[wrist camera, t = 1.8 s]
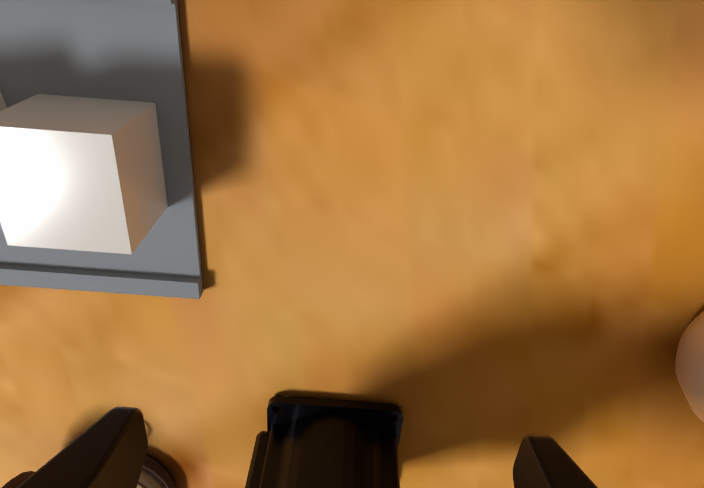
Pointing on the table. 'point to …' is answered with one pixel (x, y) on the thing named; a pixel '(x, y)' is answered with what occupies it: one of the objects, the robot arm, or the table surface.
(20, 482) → the compass
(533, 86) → the table surface
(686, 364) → the plastic bottle
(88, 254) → the rubber tray
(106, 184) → the cream matte cube
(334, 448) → the robot arm
